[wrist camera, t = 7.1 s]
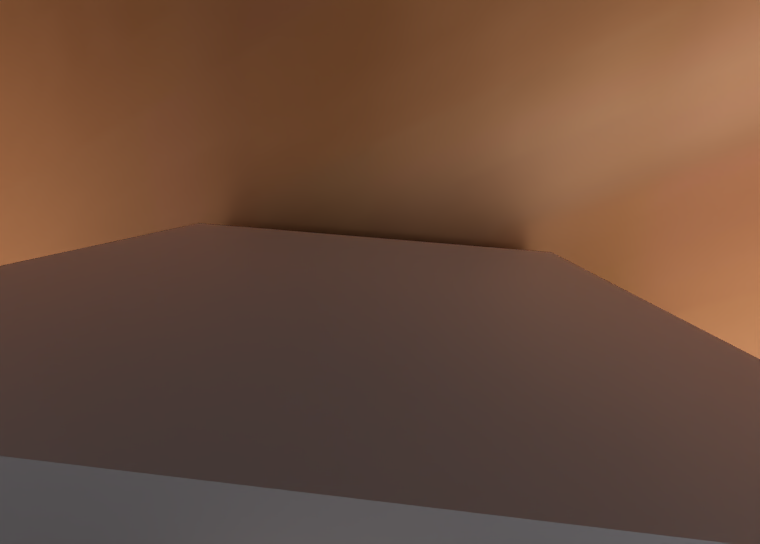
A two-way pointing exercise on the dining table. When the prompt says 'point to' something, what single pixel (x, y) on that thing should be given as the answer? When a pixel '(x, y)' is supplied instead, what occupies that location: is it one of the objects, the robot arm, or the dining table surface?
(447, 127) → the dining table surface
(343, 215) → the dining table surface
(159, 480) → the gray storage cube
